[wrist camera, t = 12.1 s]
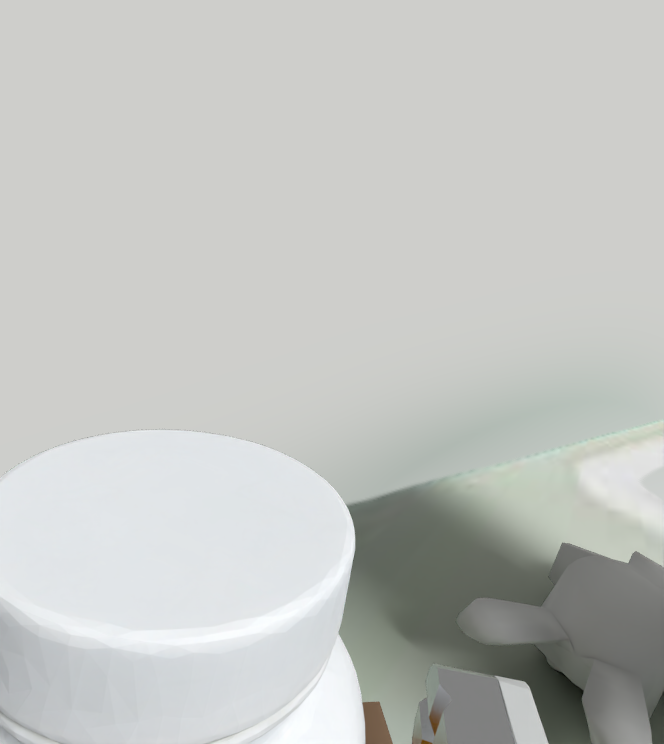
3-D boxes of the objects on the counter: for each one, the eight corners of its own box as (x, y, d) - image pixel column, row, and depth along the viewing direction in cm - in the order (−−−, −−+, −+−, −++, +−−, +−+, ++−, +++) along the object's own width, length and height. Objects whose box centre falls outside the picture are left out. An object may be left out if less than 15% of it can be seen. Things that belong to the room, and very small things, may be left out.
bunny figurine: (809, 622, 24) (708, 738, 15) (760, 711, 25) (637, 872, 16) (610, 513, 31) (455, 544, 22) (578, 586, 32) (418, 646, 23)
